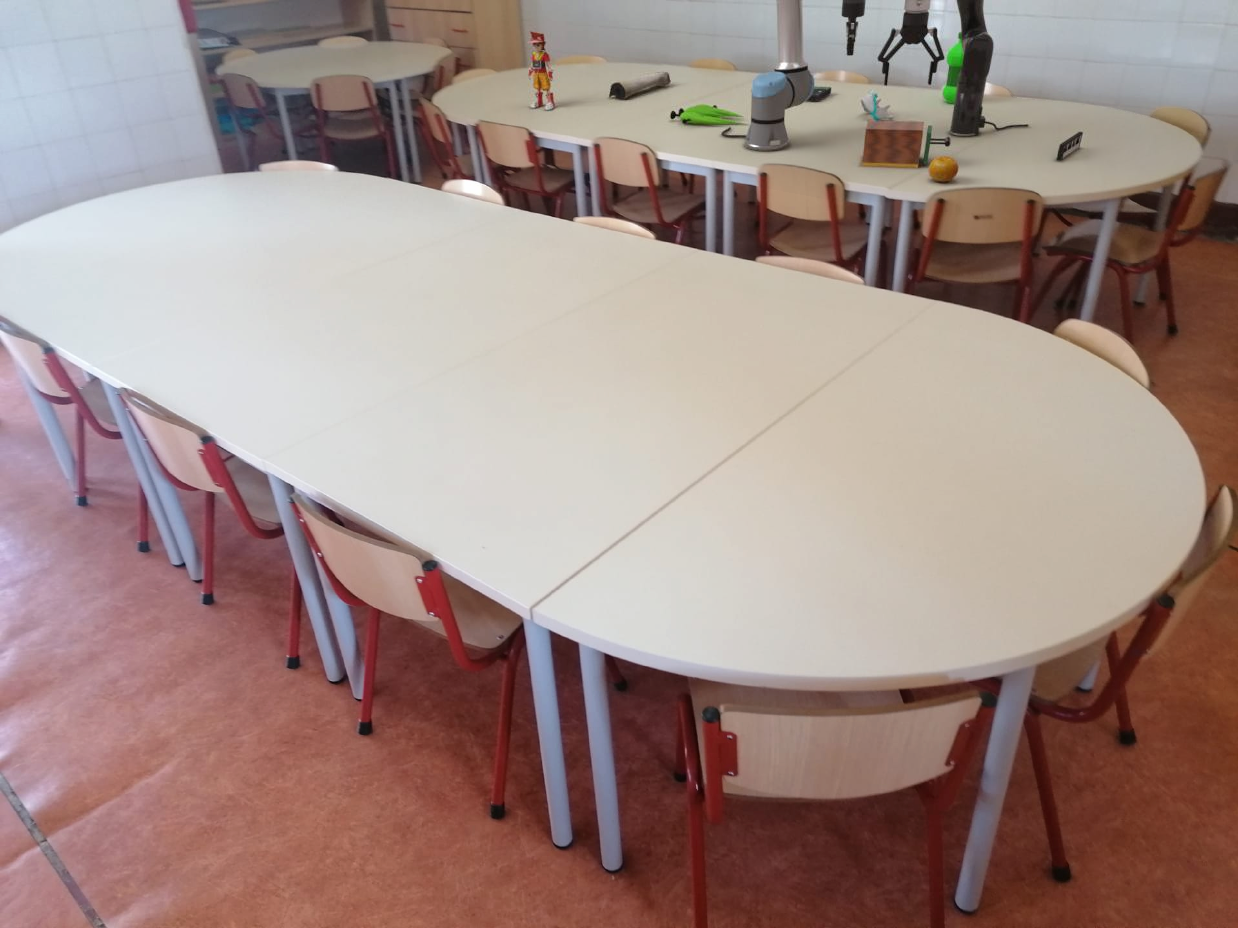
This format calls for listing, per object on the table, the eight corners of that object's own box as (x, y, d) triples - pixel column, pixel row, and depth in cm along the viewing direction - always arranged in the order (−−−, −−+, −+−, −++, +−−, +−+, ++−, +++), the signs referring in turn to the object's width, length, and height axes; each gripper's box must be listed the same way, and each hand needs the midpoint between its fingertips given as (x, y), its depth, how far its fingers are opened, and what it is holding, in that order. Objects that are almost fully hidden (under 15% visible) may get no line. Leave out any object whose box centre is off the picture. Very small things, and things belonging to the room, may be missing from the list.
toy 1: (525, 109, 381) (517, 32, 364) (534, 104, 388) (527, 28, 371) (550, 110, 377) (543, 32, 360) (559, 105, 384) (553, 28, 367)
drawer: (947, 156, 294) (952, 126, 289) (947, 165, 287) (952, 133, 282) (876, 154, 300) (879, 124, 295) (874, 162, 293) (878, 131, 288)
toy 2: (660, 123, 346) (729, 136, 334) (661, 109, 344) (731, 121, 331) (693, 112, 367) (760, 123, 354) (694, 98, 364) (762, 110, 351)
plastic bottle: (973, 101, 354) (984, 32, 339) (955, 106, 349) (966, 36, 335) (952, 97, 361) (962, 29, 346) (934, 102, 356) (944, 33, 342)
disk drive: (818, 102, 366) (831, 94, 376) (818, 95, 364) (831, 87, 374) (794, 100, 370) (807, 92, 380) (794, 93, 369) (808, 85, 379)
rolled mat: (651, 76, 408) (662, 61, 399) (662, 93, 408) (674, 79, 400) (605, 92, 391) (616, 77, 383) (617, 110, 391) (628, 95, 383)
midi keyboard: (1060, 160, 287) (1063, 145, 284) (1056, 160, 288) (1059, 144, 285) (1079, 147, 298) (1083, 132, 295) (1075, 147, 298) (1079, 131, 296)
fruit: (922, 172, 274) (939, 148, 271) (923, 174, 282) (940, 151, 279) (945, 187, 273) (963, 164, 270) (946, 189, 281) (963, 166, 278)
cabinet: (918, 158, 298) (923, 121, 291) (918, 167, 290) (923, 130, 283) (864, 156, 302) (868, 120, 296) (861, 165, 294) (865, 129, 288)
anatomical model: (855, 90, 344) (881, 82, 343) (857, 117, 350) (883, 110, 349) (867, 99, 332) (894, 92, 331) (869, 127, 337) (896, 120, 337)
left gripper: (875, 14, 275) (868, 87, 287) (960, 12, 270) (949, 86, 283) (874, 10, 281) (866, 82, 293) (957, 8, 276) (946, 81, 289)
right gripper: (866, 3, 293) (861, 57, 302) (865, -3, 304) (860, 48, 313) (842, 4, 294) (838, 57, 304) (842, -2, 306) (838, 49, 315)
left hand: (907, 84), depth 288 cm, fingers open, 13 cm apart
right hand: (849, 53), depth 309 cm, fingers open, 8 cm apart
